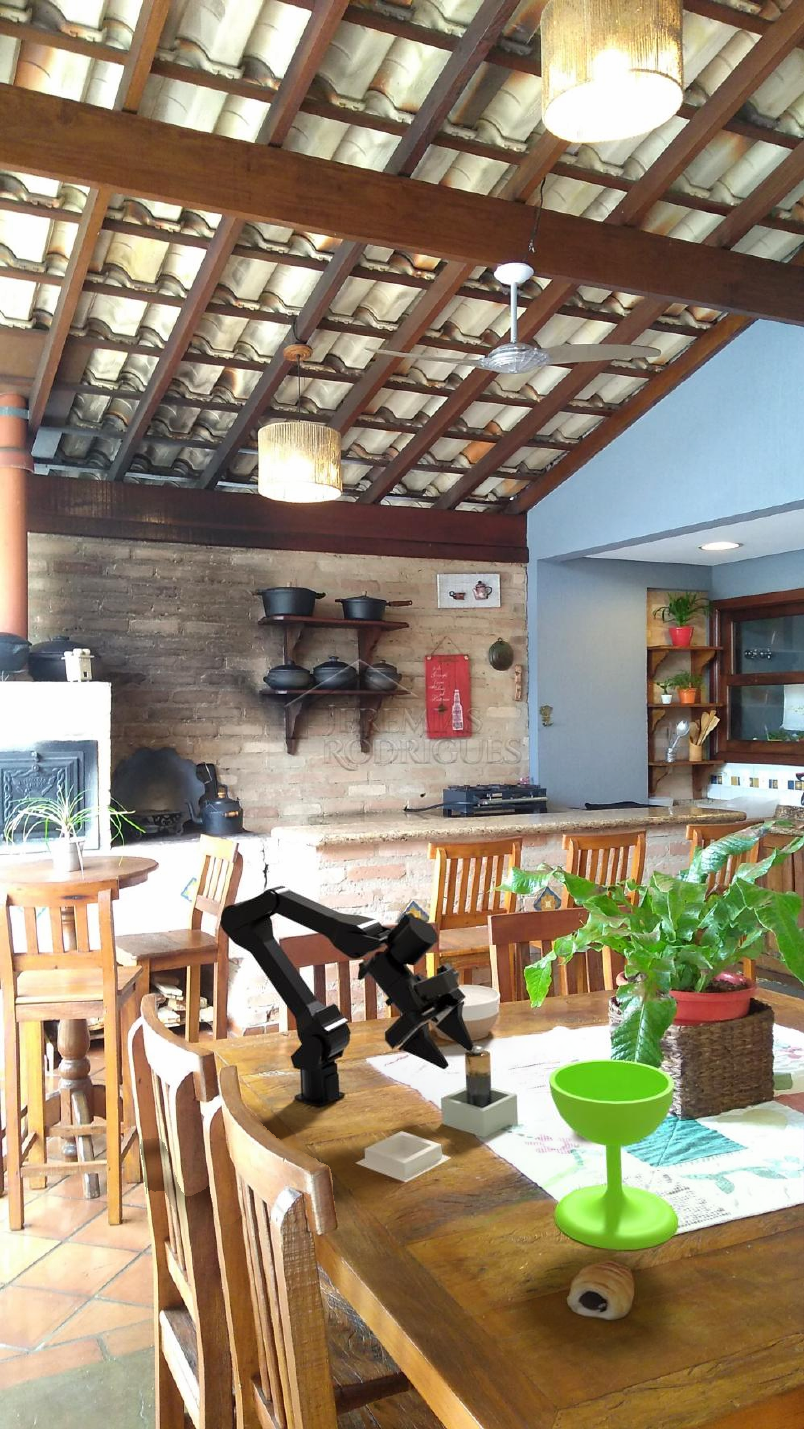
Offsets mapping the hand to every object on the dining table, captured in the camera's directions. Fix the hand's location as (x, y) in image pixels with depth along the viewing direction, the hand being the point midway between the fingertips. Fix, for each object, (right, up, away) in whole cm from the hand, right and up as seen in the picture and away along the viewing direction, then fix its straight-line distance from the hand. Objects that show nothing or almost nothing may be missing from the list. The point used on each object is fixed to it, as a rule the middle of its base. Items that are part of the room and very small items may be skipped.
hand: (459, 1058), depth 168 cm
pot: (+3, -11, -2) cm, 11 cm away
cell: (+3, -10, -2) cm, 10 cm away
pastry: (+13, -11, -51) cm, 53 cm away
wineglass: (+19, -10, -32) cm, 38 cm away
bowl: (+3, -11, +47) cm, 49 cm away
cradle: (-9, -11, -15) cm, 21 cm away
